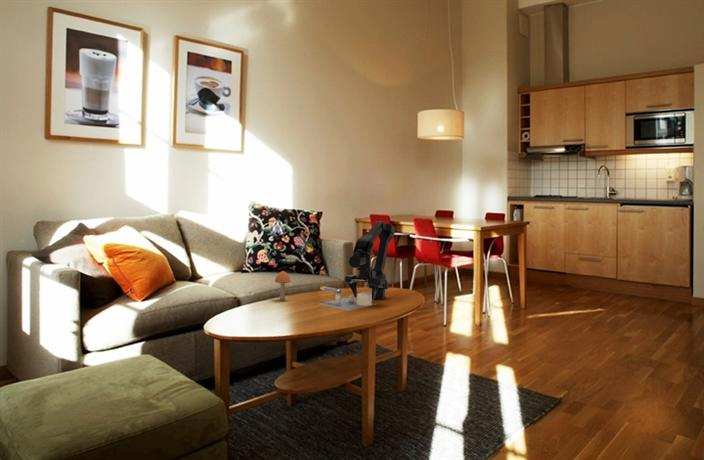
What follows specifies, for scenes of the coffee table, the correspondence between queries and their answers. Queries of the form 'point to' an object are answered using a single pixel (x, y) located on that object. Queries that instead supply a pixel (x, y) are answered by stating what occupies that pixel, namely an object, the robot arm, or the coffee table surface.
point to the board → (344, 303)
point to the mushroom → (282, 283)
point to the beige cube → (364, 298)
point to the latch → (331, 289)
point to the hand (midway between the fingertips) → (364, 298)
